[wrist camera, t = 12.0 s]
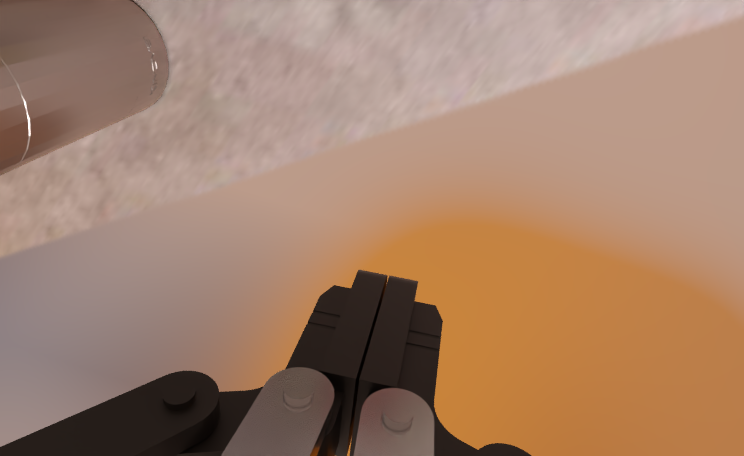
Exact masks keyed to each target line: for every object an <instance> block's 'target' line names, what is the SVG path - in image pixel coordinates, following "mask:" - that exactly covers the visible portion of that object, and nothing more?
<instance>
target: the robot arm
mask: <svg viewBox="0 0 744 456" xmlns="http://www.w3.org/2000/svg"><path fill="white" fill-rule="evenodd" d="M168 70H169V63H168V57H167V52H166V48H165V45H164V43H163V40H162V37H161V35H160V33H159V32H158V30H157V28H156V26H155V25H154V23H153V22H152V21H151V19H150V18H149V17H148V16H147V14H146V13H145V12H144V11H143V10H142V9H141V8H139V7H138V6H137V5H136V4H135V3H134V2H132V1H130V0H0V176H1V175H3V174H5V173H7V172H9V171H11V170H13V169H16V168H18V167H20V166H22V165H24V164H27V163H29V162H31V161H33V160H35V159H37V158H40V157H42V156H44V155H46V154H48V153H51V152H53V151H55V150H57V149H59V148H62V147H64V146H66V145H68V144H70V143H73V142H75V141H77V140H79V139H81V138H83V137H86V136H88V135H90V134H92V133H94V132H97V131H99V130H101V129H103V128H105V127H108V126H110V125H112V124H114V123H117V122H119V121H121V120H123V119H125V118H128V117H130V116H132V115H134V114H136V113H138V112H141V111H143V110H145V109H147V108H148V107H150V106H152V105H153V104H155V103H156V101H157V100H158V99H159V98H160V97H161V96H162V94H163V91H164V89H165V87H166V84H167V80H168ZM417 284H418V281H413V280H409V279H404V278H399V277H394V276H389V279H388V282H387V275H383V274H378V273H373V272H368V271H362V270H358V272H357V275H356V278H355V280H354V282H353V285H352V288H351V289H350V288H345V287H340V286H335V285H334V286H333V287H331V288H330V289H329V290H327V291H326V292H325V293H323V294H322V295H321V296H320V297H319V299H318V302H317V304H316V306H315V308H314V310H313V313H312V315H311V316H310V319H309V321H308V324H307V325H306V327H305V329H304V331H303V333H302V335H301V337H300V340H299V342H298V344H297V346H296V348H295V350H294V352H293V354H292V357H291V359H290V361H289V363H288V365H287V367H286V369H285V370H282V371H280V372H278V373H276V374H275V375H273V376H272V377H271V378H270V379H269V380H268V381H267V382H266V384H265V385H264V387H261V388H258V389H254V390H248V391H229V392H219V389H218V386H217V384H216V383H215V381H214V380H213V379H211V378H210V377H209V376H208V375H205V374H203V373H200V372H196V371H180V372H175V373H171V374H168V375H165V376H163V377H161V378H158V379H156V380H154V381H151V382H149V383H147V384H145V385H142V386H140V387H138V388H136V389H133V390H131V391H129V392H126V393H124V394H122V395H119V396H117V397H115V398H112V399H110V400H108V401H105V402H103V403H101V404H99V405H96V406H94V407H92V408H89V409H87V410H85V411H82V412H80V413H78V414H76V415H73V416H71V417H68V418H66V419H64V420H62V421H59V422H57V423H55V424H52V425H50V426H48V427H45V428H43V429H41V430H38V431H36V432H34V433H32V434H30V435H27V436H25V437H22V438H21V439H18V440H16V441H13V442H11V443H9V444H6V445H4V446H2V447H0V456H347V453H348V449H349V445H350V442H351V449H350V456H531V455H530V454H528V453H527V452H525V451H524V450H522V449H520V448H518V447H515V446H512V445H508V444H502V443H495V444H489V445H486V446H484V447H482V448H480V449H479V450H477V449H475V448H473V447H472V446H470V445H468V444H466V443H464V442H462V441H461V440H459V439H457V438H456V437H454V436H453V435H452V434H450V433H449V432H448V431H447V430H446V429H445V428H444V427H443V425H442V424H441V423H440V421H439V419H438V417H437V415H436V412H435V408H434V396H435V387H436V377H437V368H438V359H439V349H440V339H441V331H442V322H443V321H442V319H441V316H440V314H439V312H438V310H437V308H436V306H435V305H430V304H425V303H420V302H415V301H414V300H415V295H416V290H417ZM386 285H387V286H386ZM351 438H352V441H351Z"/></svg>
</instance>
